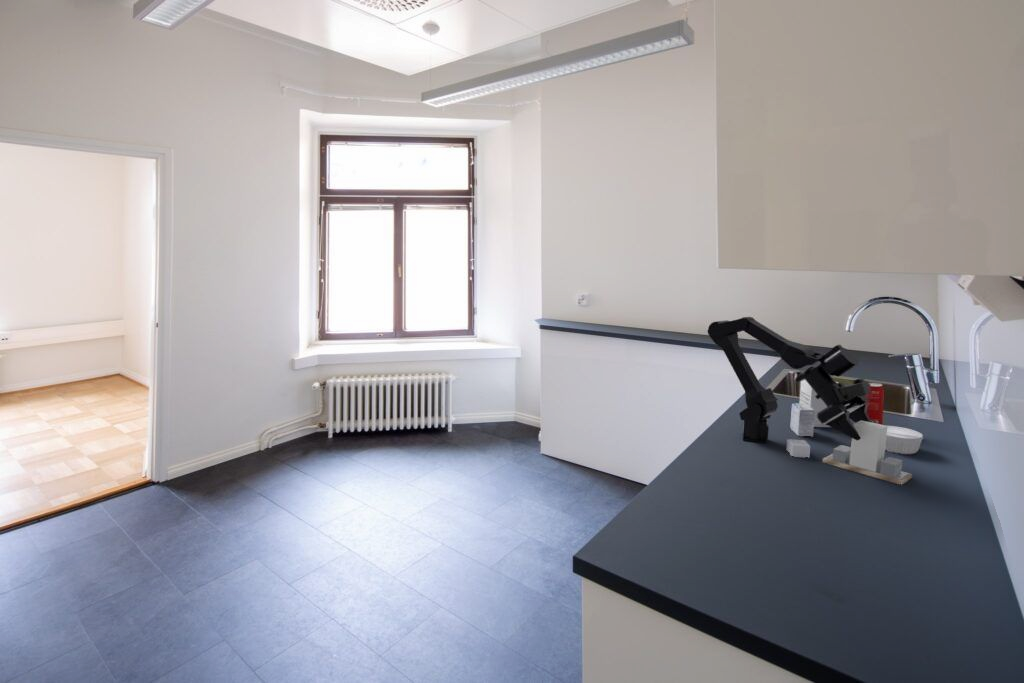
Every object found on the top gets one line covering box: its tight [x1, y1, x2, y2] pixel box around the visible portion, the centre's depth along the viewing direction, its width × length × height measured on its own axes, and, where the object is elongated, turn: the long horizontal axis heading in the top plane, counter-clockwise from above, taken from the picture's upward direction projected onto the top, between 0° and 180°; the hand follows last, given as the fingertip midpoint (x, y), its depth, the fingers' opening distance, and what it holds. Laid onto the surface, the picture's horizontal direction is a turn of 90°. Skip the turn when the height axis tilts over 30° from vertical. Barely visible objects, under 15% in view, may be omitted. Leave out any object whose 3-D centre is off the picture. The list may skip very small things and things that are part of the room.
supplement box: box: [799, 380, 839, 428], centre depth 173 cm, size 9×9×15 cm
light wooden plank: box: [826, 454, 909, 480], centre depth 135 cm, size 17×6×1 cm, turn 37°
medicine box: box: [789, 402, 815, 438], centre depth 164 cm, size 8×4×9 cm, turn 168°
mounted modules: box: [832, 444, 904, 477], centre depth 135 cm, size 14×5×3 cm, turn 37°
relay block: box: [786, 438, 811, 459], centre depth 146 cm, size 4×5×4 cm
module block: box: [849, 420, 889, 472], centre depth 134 cm, size 6×5×11 cm
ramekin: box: [885, 425, 924, 455], centre depth 150 cm, size 11×11×5 cm
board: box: [822, 453, 913, 486], centre depth 135 cm, size 18×7×1 cm, turn 37°
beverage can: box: [863, 382, 885, 425], centre depth 167 cm, size 6×6×15 cm
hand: (866, 436), depth 134 cm, fingers open, 9 cm apart
